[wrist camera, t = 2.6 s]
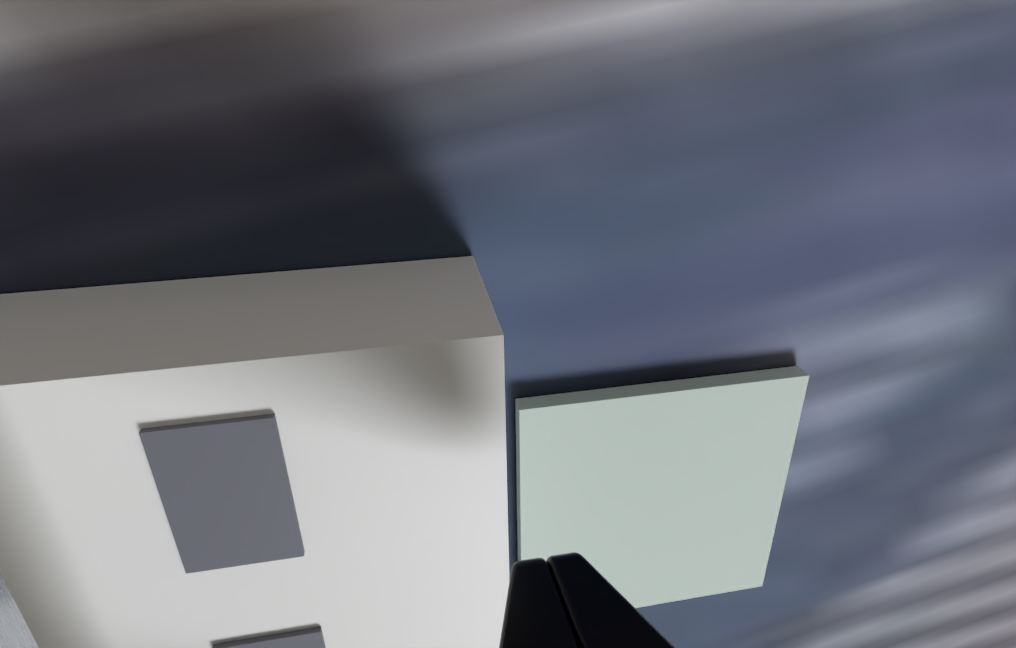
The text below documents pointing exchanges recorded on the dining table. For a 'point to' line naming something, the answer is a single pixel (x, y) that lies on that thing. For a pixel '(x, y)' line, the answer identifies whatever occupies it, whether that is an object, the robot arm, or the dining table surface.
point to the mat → (660, 480)
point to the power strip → (257, 460)
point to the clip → (12, 622)
